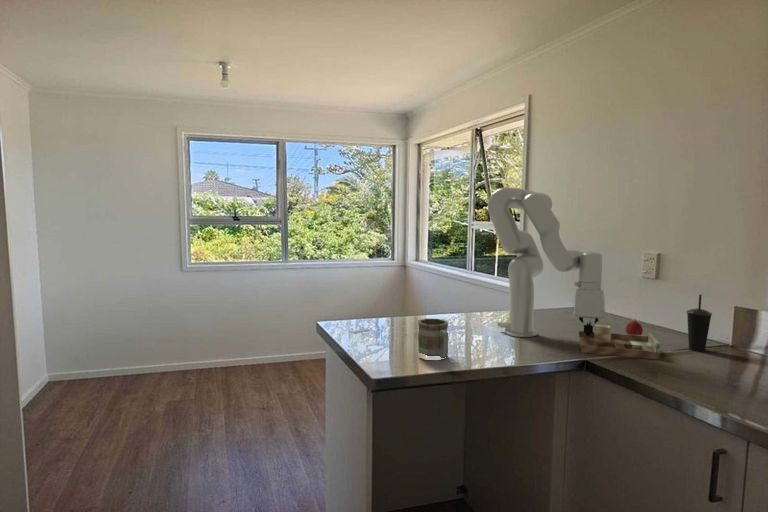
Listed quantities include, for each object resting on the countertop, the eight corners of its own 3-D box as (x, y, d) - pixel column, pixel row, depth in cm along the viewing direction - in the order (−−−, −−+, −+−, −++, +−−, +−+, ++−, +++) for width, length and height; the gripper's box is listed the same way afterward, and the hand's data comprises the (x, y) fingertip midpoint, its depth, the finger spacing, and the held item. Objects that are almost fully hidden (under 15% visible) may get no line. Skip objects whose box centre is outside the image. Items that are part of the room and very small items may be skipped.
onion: (644, 341, 179) (645, 321, 178) (627, 340, 180) (628, 320, 179) (639, 337, 184) (640, 317, 183) (623, 336, 185) (624, 317, 185)
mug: (411, 353, 165) (411, 319, 163) (439, 350, 168) (439, 317, 167) (431, 367, 150) (432, 330, 149) (461, 363, 154) (461, 327, 153)
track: (581, 352, 165) (582, 337, 164) (578, 342, 178) (579, 327, 178) (659, 359, 157) (659, 343, 157) (649, 347, 170) (650, 333, 170)
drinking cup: (705, 347, 171) (709, 293, 169) (712, 353, 164) (716, 297, 162) (681, 345, 173) (684, 292, 171) (687, 351, 166) (691, 295, 164)
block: (595, 341, 170) (595, 327, 170) (594, 337, 175) (594, 324, 174) (610, 342, 168) (611, 328, 168) (608, 338, 173) (609, 325, 173)
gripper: (568, 286, 170) (566, 336, 172) (613, 288, 165) (611, 339, 167) (567, 283, 177) (565, 331, 179) (611, 285, 172) (608, 334, 174)
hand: (588, 335), depth 173 cm, fingers closed
